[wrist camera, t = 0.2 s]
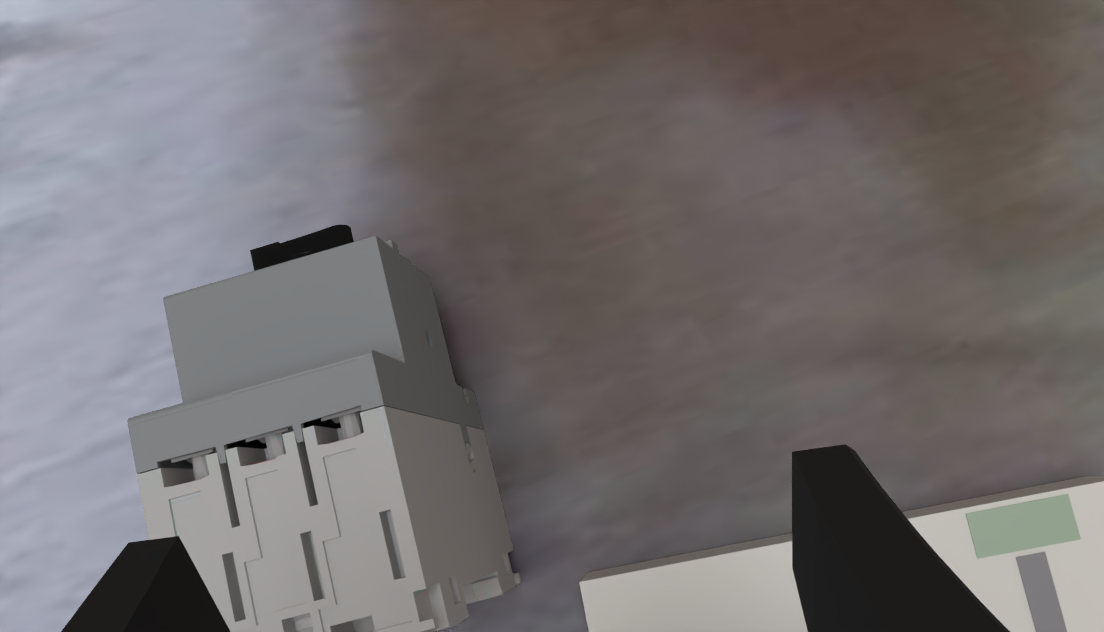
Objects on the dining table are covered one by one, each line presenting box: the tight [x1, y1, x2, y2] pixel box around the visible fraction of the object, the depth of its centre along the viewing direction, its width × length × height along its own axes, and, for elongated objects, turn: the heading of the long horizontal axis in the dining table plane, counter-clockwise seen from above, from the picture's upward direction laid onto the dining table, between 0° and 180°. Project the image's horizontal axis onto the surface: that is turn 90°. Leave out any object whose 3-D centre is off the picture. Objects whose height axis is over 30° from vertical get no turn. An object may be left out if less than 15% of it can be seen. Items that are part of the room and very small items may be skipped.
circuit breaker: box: [127, 225, 522, 632], centre depth 37 cm, size 8×14×15 cm, turn 15°
